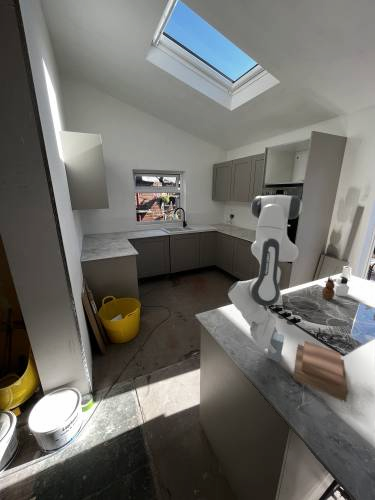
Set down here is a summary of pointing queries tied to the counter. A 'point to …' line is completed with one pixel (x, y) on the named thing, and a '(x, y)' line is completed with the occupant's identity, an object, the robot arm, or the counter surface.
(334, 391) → the plinth
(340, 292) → the medicine bottle
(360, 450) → the counter surface
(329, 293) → the wooden figurine
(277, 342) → the slate brick
